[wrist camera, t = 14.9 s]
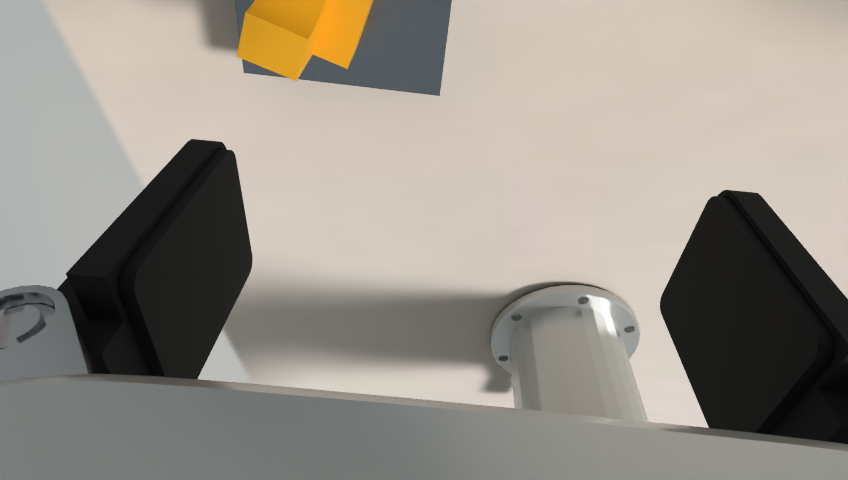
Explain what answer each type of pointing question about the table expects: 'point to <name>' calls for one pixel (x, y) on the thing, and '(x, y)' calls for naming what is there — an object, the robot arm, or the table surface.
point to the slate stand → (385, 48)
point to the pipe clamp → (301, 33)
